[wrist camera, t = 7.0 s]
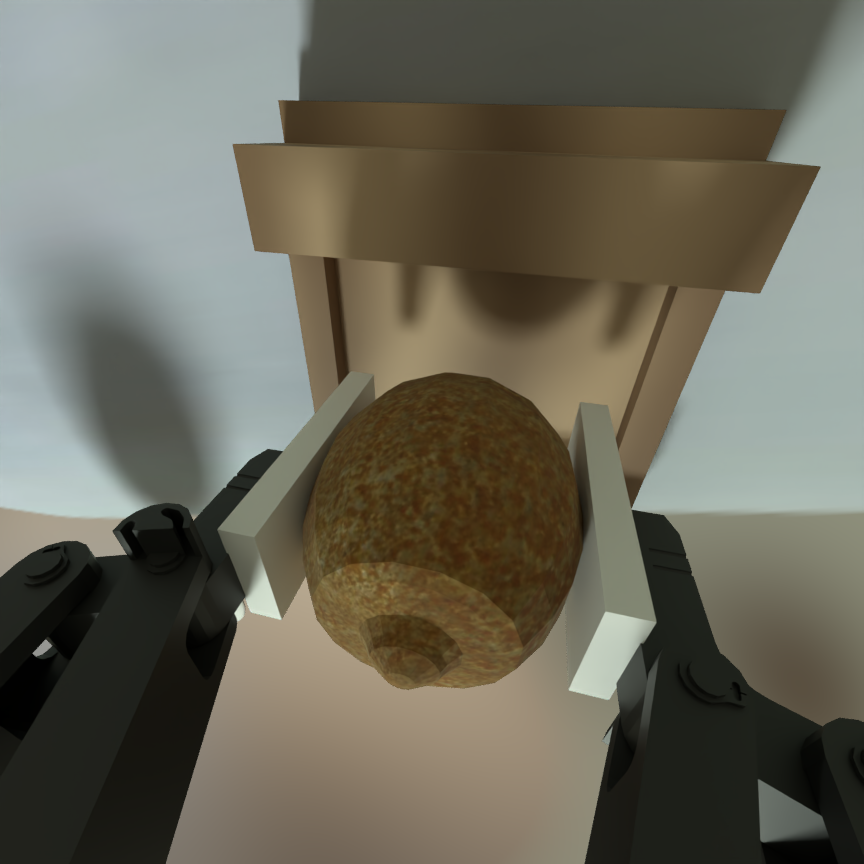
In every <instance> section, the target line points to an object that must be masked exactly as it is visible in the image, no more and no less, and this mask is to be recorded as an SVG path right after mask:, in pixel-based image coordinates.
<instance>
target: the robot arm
mask: <svg viewBox="0 0 864 864" xmlns="http://www.w3.org/2000/svg"><path fill="white" fill-rule="evenodd" d="M375 400H376V399H375V383H374V374H367V373H359V372H352V371H351V372H350V373H349V374H348V375H347V376H346V378H345V379H344V380H343V381H342V382H341V384H340V385H339V386H338V387H337V388H336V389H335V391H334V392H333V393H332V394H331V395H330V397H329V398H328V399H327V400H326V401H325V402H324V404H323V405H322V406H321V407H320V408H319V410H318V411H317V412H316V413H315V414H314V415H313V417H312V418H311V419H310V420H309V421H308V423H307V424H306V425H305V426H304V427H303V429H302V430H301V431H300V432H299V433H298V434H297V436H296V437H295V438H294V439H293V440H292V442H291V443H290V444H289V445H288V446H287V447H286V449H285V450H284V451H277V450H272V449H267V450H266V451H264V452H262V453H261V454H259V455H257V456H255V457H254V458H252V459H250V460H249V461H248V462H247V464H246V465H245V466H244V467H243V468H242V469H241V470H240V471H239V472H238V473H237V476H235V477H234V478H233V479H232V480H231V481H230V482H229V483H228V484H227V487H226V488H223V489H222V491H221V492H220V493H219V494H218V495H217V496H216V497H215V498H214V499H213V500H212V501H211V502H210V504H209V505H208V506H207V507H206V508H205V509H204V510H203V511H202V512H201V513H200V514H199V515H198V516H197V518H196V519H195V520H194V521H193V519H192V517H191V514H190V512H189V510H188V509H187V508H185V507H183V506H182V505H180V504H171V503H164V504H158V505H152V506H149V507H147V508H144V509H142V510H139V511H136V512H135V513H133V514H132V515H130V516H129V517H127V518H126V519H124V520H123V521H122V522H121V523H120V524H119V525H118V526H117V527H116V528H115V529H114V530H113V533H114V535H115V536H116V538H117V539H118V541H119V543H120V544H121V546H122V547H123V549H124V551H125V552H126V554H127V555H118V556H105V557H94V555H93V554H92V552H91V551H90V549H89V548H88V547H87V545H86V544H83V543H80V542H78V541H64V542H59V543H55V544H52V545H48V546H46V547H44V548H41V549H39V550H37V551H35V552H33V553H31V554H30V555H28V556H27V557H25V558H24V559H22V560H21V561H19V562H18V563H17V564H15V565H14V566H13V567H12V568H11V569H10V570H8V571H7V572H6V573H5V574H4V575H3V576H2V577H0V864H166V861H167V857H168V854H169V851H170V847H171V844H172V841H173V837H174V834H175V831H176V828H177V824H178V821H179V818H180V814H181V811H182V808H183V804H184V801H185V798H186V795H187V791H188V788H189V784H190V781H191V778H192V775H193V771H194V768H195V765H196V761H197V758H198V755H199V752H200V748H201V745H202V742H203V738H204V735H205V732H206V729H207V725H208V722H209V718H210V715H211V712H212V709H213V705H214V702H215V699H216V695H217V692H218V689H219V685H220V682H221V679H222V675H223V672H224V669H225V666H226V662H227V659H228V656H229V652H230V649H231V646H232V643H233V639H234V636H235V633H236V628H237V618H236V616H235V612H236V610H237V609H238V607H239V606H240V604H241V602H242V601H243V599H244V598H245V600H246V602H247V604H248V607H249V610H250V612H251V613H255V614H259V615H264V616H268V617H272V618H276V619H280V620H282V618H283V617H284V615H285V613H286V611H287V609H288V608H289V606H290V604H291V602H292V600H293V599H294V597H295V595H296V593H297V591H298V589H299V588H300V586H301V584H302V582H303V581H304V579H305V577H306V573H305V568H304V564H303V522H304V518H305V514H306V510H307V506H308V502H309V498H310V494H311V492H312V489H313V487H314V484H315V482H316V479H317V477H318V474H319V472H320V470H321V467H322V465H323V462H324V460H325V458H326V456H327V454H328V452H329V450H330V448H331V447H332V445H333V443H334V441H335V439H336V437H337V435H338V434H339V433H340V431H341V430H342V429H343V428H344V427H345V426H346V425H347V424H348V423H349V422H350V420H351V419H352V418H353V417H354V416H355V415H356V414H358V413H359V412H360V411H362V410H363V409H364V408H366V407H367V406H368V405H370V404H371V403H372V402H374V401H375ZM568 451H569V453H570V458H571V462H572V466H573V471H574V475H575V479H576V484H577V489H578V493H579V498H580V503H581V507H582V512H583V551H582V554H581V557H580V561H579V564H578V568H577V571H576V575H575V578H574V582H573V585H572V587H571V589H570V592H569V594H568V597H567V599H566V602H565V614H566V640H567V670H568V690H570V691H574V692H578V693H582V694H586V695H590V696H594V697H598V698H602V699H607V700H609V699H610V697H611V696H612V694H613V692H614V691H615V689H616V687H617V692H618V701H619V709H620V712H619V714H618V715H617V717H616V718H615V720H614V721H613V723H612V724H611V726H610V727H609V729H608V730H607V732H606V734H605V736H604V739H603V742H604V743H606V744H607V745H608V744H609V747H608V752H607V757H606V762H605V767H604V772H603V777H602V782H601V786H600V791H599V796H598V801H597V806H596V811H595V816H594V820H593V825H592V830H591V835H590V840H589V845H588V850H587V854H586V859H585V864H864V722H862V721H859V720H854V719H845V718H838V719H836V720H833V721H831V722H829V723H827V724H825V725H824V726H820V725H818V724H816V723H814V722H813V721H811V720H809V719H807V718H805V717H803V716H801V715H799V714H797V713H795V712H793V711H791V710H789V709H787V708H785V707H783V706H781V705H779V704H777V703H775V702H774V701H772V700H770V699H768V698H766V697H764V696H763V695H761V694H760V693H758V692H756V691H755V690H754V689H752V688H751V687H750V686H749V685H748V684H747V682H746V680H745V679H744V677H743V676H742V674H741V672H740V671H739V670H738V669H737V668H736V667H735V666H734V665H733V664H732V663H731V662H730V661H729V660H728V659H727V658H726V657H725V656H724V655H722V654H720V652H719V650H718V648H717V645H716V643H715V640H714V637H713V634H712V631H711V628H710V625H709V622H708V619H707V616H706V613H705V610H704V607H703V604H702V601H701V598H700V595H699V592H698V589H697V586H696V583H695V580H694V577H693V576H692V575H691V573H692V571H691V568H690V565H689V562H688V559H686V553H685V550H684V547H683V544H682V541H681V538H680V535H679V533H678V532H677V531H676V530H675V529H674V527H673V526H672V525H671V523H670V522H669V521H668V520H667V519H666V517H665V516H664V515H659V514H653V513H647V512H641V511H636V510H631V506H630V501H629V497H628V492H627V488H626V483H625V479H624V474H623V470H622V465H621V461H620V456H619V452H618V447H617V443H616V438H615V434H614V429H613V425H612V421H611V416H610V412H609V407H608V405H601V404H593V403H586V402H580V404H579V408H578V412H577V415H576V419H575V423H574V426H573V430H572V434H571V438H570V441H569V445H568ZM45 639H46V640H47V641H48V642H49V643H50V644H51V645H52V647H51V648H50V649H49V650H48V651H46V652H45V653H44V654H43V655H40V656H37V657H36V656H34V655H33V654H32V653H33V652H34V651H35V650H36V649H37V647H39V646H40V644H42V642H43V641H44V640H45Z"/></svg>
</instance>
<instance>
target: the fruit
mask: <svg viewBox="0 0 864 864" xmlns="http://www.w3.org/2000/svg"><path fill="white" fill-rule="evenodd" d="M582 551H583V512H582V507H581V503H580V498H579V493H578V489H577V484H576V479H575V475H574V471H573V466H572V462H571V458H570V453H569V451H568V449H567V447H566V446H565V444H564V442H563V441H562V439H561V438H560V436H559V434H558V433H557V432H556V430H555V429H554V428H553V427H552V426H551V424H550V423H549V422H548V421H547V419H546V418H545V417H544V416H543V414H542V413H541V412H540V411H539V410H538V408H537V407H536V406H535V405H534V403H533V402H532V401H530V400H529V399H527V398H525V397H524V396H522V395H520V394H518V393H516V392H514V391H513V390H511V389H509V388H507V387H505V386H503V385H502V384H500V383H498V382H496V381H494V380H492V379H491V378H487V377H480V376H473V375H467V374H460V373H453V372H444V373H440V374H435V375H431V376H427V377H422V378H418V379H413V380H409V381H404V382H402V383H400V384H398V385H397V386H395V387H393V388H392V389H390V390H388V391H387V392H385V393H384V394H383V395H381V396H380V397H379V398H377V399H376V400H375V401H374V402H372V403H371V404H370V405H368V406H367V407H366V408H364V409H363V410H362V411H360V412H359V413H358V414H356V415H355V416H354V417H353V418H352V419H351V420H350V422H349V423H348V424H347V425H346V426H345V427H344V428H343V429H342V430H341V431H340V433H339V434H338V435H337V437H336V439H335V441H334V443H333V445H332V447H331V448H330V450H329V452H328V454H327V456H326V458H325V460H324V462H323V465H322V467H321V470H320V472H319V474H318V477H317V479H316V482H315V484H314V487H313V489H312V492H311V494H310V498H309V502H308V506H307V510H306V514H305V518H304V522H303V564H304V568H305V573H306V578H307V583H308V587H309V591H310V595H311V599H312V603H313V607H314V610H315V614H316V618H317V620H318V622H319V623H320V624H321V626H322V627H323V628H324V629H325V631H326V632H327V633H328V635H329V636H330V637H331V638H332V640H333V641H334V642H335V643H336V644H338V645H339V646H340V647H342V648H343V649H345V650H346V651H347V652H349V653H350V654H351V655H353V656H354V657H355V658H357V659H358V660H360V661H361V662H363V663H365V664H367V665H369V666H372V667H374V668H375V669H376V670H377V672H378V673H380V674H381V676H382V677H383V678H384V679H385V680H386V681H387V682H388V683H390V684H391V685H393V686H395V687H397V688H400V689H407V690H409V689H414V688H418V687H423V686H436V687H451V688H469V687H474V686H480V685H485V684H490V683H495V682H497V681H498V680H500V679H501V678H503V677H504V676H506V675H507V674H509V673H510V672H512V671H514V670H515V669H517V668H518V667H519V666H520V665H521V664H522V663H523V662H524V661H525V660H526V659H527V658H528V657H529V656H530V655H532V654H533V653H534V652H535V651H536V650H537V649H538V648H539V647H540V646H541V645H542V644H543V643H544V641H545V639H546V638H547V636H548V634H549V633H550V631H551V629H552V628H553V626H554V624H555V623H556V621H557V619H558V618H559V616H560V614H561V611H562V609H563V606H564V604H565V602H566V599H567V597H568V594H569V592H570V589H571V587H572V585H573V582H574V578H575V575H576V571H577V568H578V564H579V561H580V557H581V554H582Z"/></svg>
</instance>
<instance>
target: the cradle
mask: <svg viewBox="0 0 864 864" xmlns="http://www.w3.org/2000/svg"><path fill="white" fill-rule="evenodd" d="M278 101H279V108H280V115H281V122H282V128H283V135H284V142H285V143H261V144H233V149H234V153H235V158H236V163H237V168H238V173H239V177H240V182H241V187H242V192H243V197H244V201H245V206H246V211H247V216H248V221H249V226H250V230H251V235H252V240H253V245H254V250H255V251H261V252H273V253H284V254H289V258H290V265H291V271H292V277H293V283H294V289H295V295H296V301H297V307H298V313H299V319H300V325H301V332H302V338H303V344H304V350H305V356H306V362H307V368H308V374H309V380H310V386H311V392H312V398H313V405H314V411H315V413H316V412H317V411H318V410H319V408H320V407H321V406H322V405H323V404H324V402H325V401H326V400H327V399H328V398H329V397H330V395H331V394H332V393H333V392H334V391H335V389H336V388H337V387H338V386H339V385H340V384H341V382H342V381H343V380H344V379H345V378H346V376H347V375H348V374H349V373H350V372H351V371H352V372H359V373H367V374H374V383H375V399H377V398H379V397H380V396H381V395H383V394H384V393H385V392H387V391H388V390H390V389H392V388H393V387H395V386H397V385H398V384H400V383H402V382H404V381H409V380H413V379H418V378H422V377H427V376H431V375H435V374H440V373H444V372H453V373H460V374H467V375H473V376H480V377H487V378H491V379H492V380H494V381H496V382H498V383H500V384H502V385H503V386H505V387H507V388H509V389H511V390H513V391H514V392H516V393H518V394H520V395H522V396H524V397H525V398H527V399H529V400H530V401H532V402H533V403H534V405H535V406H536V407H537V408H538V410H539V411H540V412H541V413H542V414H543V416H544V417H545V418H546V419H547V421H548V422H549V423H550V424H551V426H552V427H553V428H554V429H555V430H556V432H557V433H558V434H559V436H560V438H561V439H562V441H563V442H564V444H565V446H566V447H567V449H568V445H569V441H570V438H571V434H572V430H573V426H574V423H575V419H576V415H577V412H578V408H579V404H580V402H586V403H593V404H601V405H608V407H609V412H610V416H611V421H612V425H613V429H614V434H615V438H616V443H617V447H618V452H619V456H620V461H621V465H622V470H623V474H624V479H625V483H626V488H627V492H628V497H629V501H630V506H631V508H632V506H633V504H634V501H635V499H636V497H637V495H638V492H639V490H640V488H641V485H642V483H643V481H644V478H645V476H646V474H647V471H648V469H649V467H650V464H651V462H652V460H653V457H654V455H655V453H656V450H657V448H658V446H659V443H660V441H661V439H662V436H663V434H664V432H665V429H666V427H667V425H668V422H669V420H670V418H671V415H672V413H673V411H674V408H675V406H676V404H677V401H678V399H679V397H680V394H681V392H682V390H683V387H684V385H685V383H686V380H687V378H688V376H689V373H690V371H691V369H692V366H693V364H694V362H695V359H696V357H697V355H698V352H699V350H700V348H701V345H702V343H703V341H704V338H705V336H706V334H707V332H708V329H709V327H710V325H711V322H712V320H713V318H714V315H715V313H716V311H717V308H718V306H719V304H720V301H721V299H722V297H723V294H724V292H725V291H737V292H749V293H760V292H761V290H762V288H763V286H764V284H765V282H766V280H767V278H768V276H769V274H770V271H771V269H772V267H773V265H774V263H775V261H776V259H777V257H778V255H779V253H780V251H781V249H782V246H783V244H784V242H785V240H786V238H787V236H788V234H789V232H790V230H791V228H792V226H793V224H794V221H795V219H796V217H797V215H798V213H799V211H800V209H801V207H802V205H803V203H804V201H805V199H806V196H807V194H808V192H809V190H810V188H811V186H812V184H813V182H814V180H815V178H816V176H817V173H818V171H819V169H820V166H810V165H801V164H791V163H782V162H772V161H766V159H767V156H768V154H769V152H770V149H771V147H772V144H773V142H774V139H775V137H776V135H777V132H778V130H779V127H780V125H781V122H782V120H783V118H784V115H785V113H786V110H765V109H712V108H659V107H606V106H553V105H500V104H447V103H394V102H340V101H287V100H278Z"/></svg>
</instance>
